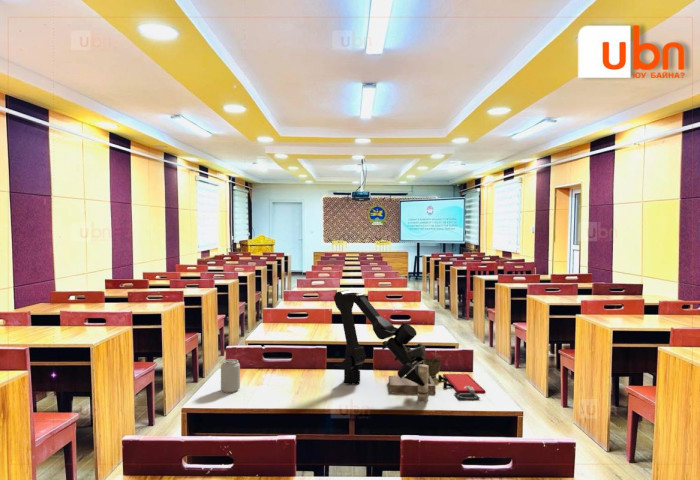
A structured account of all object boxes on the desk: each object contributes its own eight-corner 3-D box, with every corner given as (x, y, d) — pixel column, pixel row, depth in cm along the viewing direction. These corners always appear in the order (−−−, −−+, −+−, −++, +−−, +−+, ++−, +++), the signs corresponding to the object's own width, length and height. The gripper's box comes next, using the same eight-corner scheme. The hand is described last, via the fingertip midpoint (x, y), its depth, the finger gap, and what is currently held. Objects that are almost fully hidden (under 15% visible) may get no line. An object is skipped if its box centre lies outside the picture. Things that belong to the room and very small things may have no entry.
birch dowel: (418, 401, 168) (418, 367, 168) (416, 397, 173) (417, 364, 173) (429, 401, 168) (429, 367, 168) (427, 397, 173) (427, 364, 172)
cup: (439, 375, 201) (440, 357, 201) (441, 380, 193) (441, 362, 193) (423, 374, 201) (423, 357, 201) (424, 379, 194) (424, 361, 194)
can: (217, 390, 179) (217, 360, 179) (233, 385, 185) (233, 357, 184) (227, 394, 174) (227, 364, 174) (243, 390, 179) (243, 360, 179)
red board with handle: (454, 400, 170) (492, 400, 171) (454, 393, 170) (492, 393, 171) (434, 377, 200) (467, 377, 201) (435, 370, 200) (467, 371, 201)
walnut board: (390, 392, 178) (390, 385, 178) (388, 382, 190) (388, 375, 190) (435, 393, 177) (435, 385, 177) (430, 383, 189) (430, 376, 189)
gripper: (405, 343, 164) (434, 377, 159) (420, 333, 180) (447, 364, 176) (385, 361, 167) (413, 395, 162) (402, 350, 184) (427, 380, 179)
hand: (426, 383), depth 170 cm, fingers open, 6 cm apart
